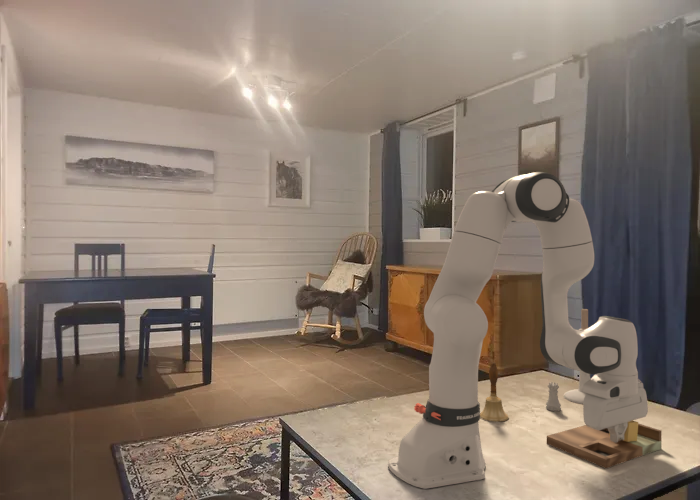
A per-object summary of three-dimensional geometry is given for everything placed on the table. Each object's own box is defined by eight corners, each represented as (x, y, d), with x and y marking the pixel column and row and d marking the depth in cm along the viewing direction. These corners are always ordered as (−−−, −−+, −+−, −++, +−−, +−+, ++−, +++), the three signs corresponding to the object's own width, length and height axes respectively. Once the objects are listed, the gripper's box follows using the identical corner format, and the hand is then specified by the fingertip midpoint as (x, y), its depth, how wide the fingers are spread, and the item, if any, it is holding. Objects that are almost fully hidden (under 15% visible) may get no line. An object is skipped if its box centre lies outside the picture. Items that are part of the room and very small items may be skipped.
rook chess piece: (562, 412, 147) (562, 385, 147) (547, 411, 148) (547, 385, 148) (559, 407, 151) (559, 381, 151) (544, 406, 152) (544, 381, 152)
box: (606, 468, 109) (606, 448, 109) (546, 443, 123) (546, 426, 123) (661, 448, 120) (661, 430, 120) (600, 428, 134) (600, 411, 134)
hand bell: (473, 415, 145) (473, 361, 145) (493, 410, 149) (493, 358, 149) (494, 424, 137) (494, 367, 137) (514, 418, 141) (514, 364, 141)
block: (627, 441, 117) (629, 422, 118) (609, 435, 121) (610, 417, 122) (636, 440, 120) (638, 422, 120) (618, 435, 124) (619, 417, 124)
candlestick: (559, 392, 167) (558, 305, 167) (598, 393, 166) (598, 305, 166) (570, 404, 155) (570, 310, 155) (613, 405, 153) (613, 310, 153)
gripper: (629, 375, 125) (630, 428, 125) (578, 386, 115) (578, 444, 115) (654, 380, 120) (655, 436, 120) (602, 393, 110) (603, 454, 110)
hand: (617, 440), depth 117 cm, fingers closed
